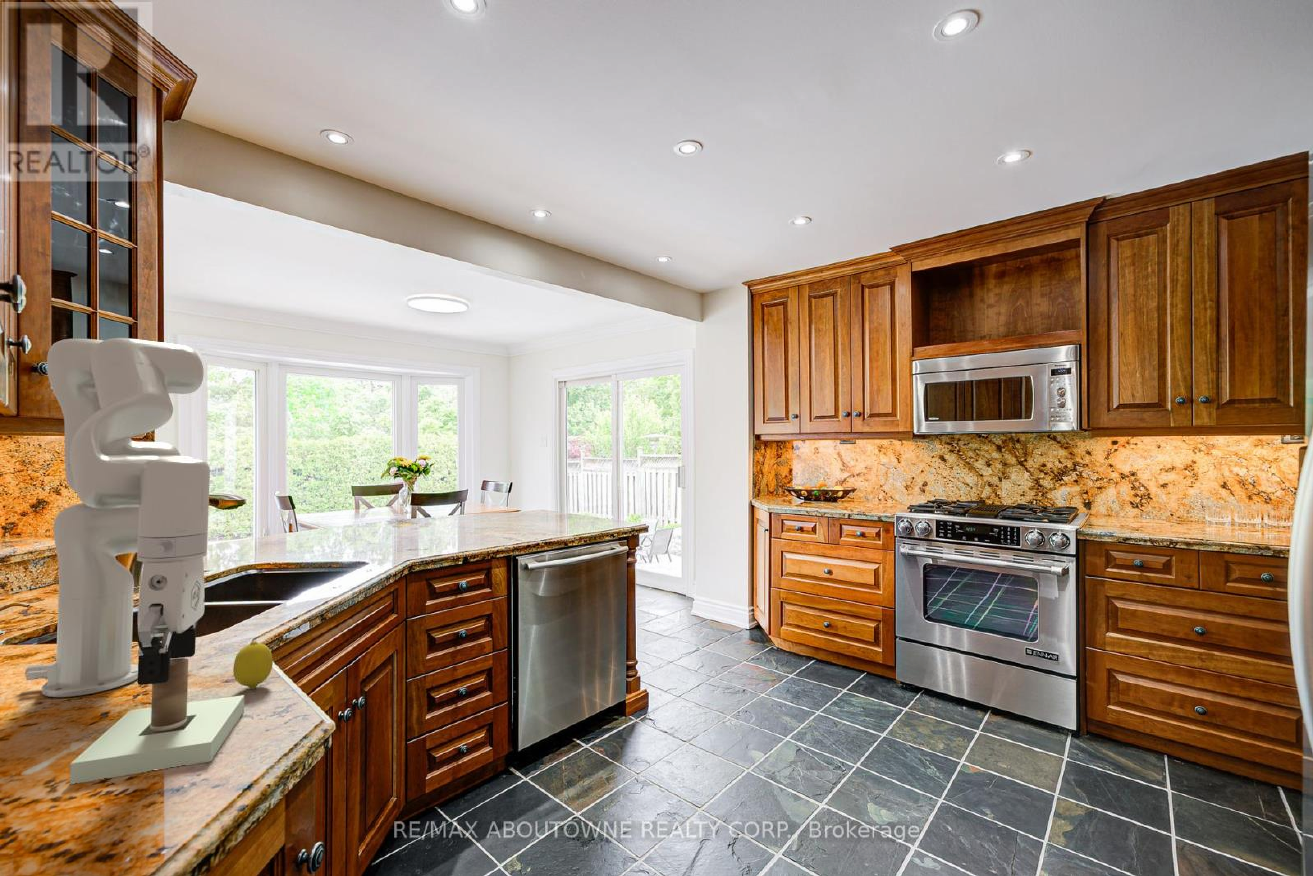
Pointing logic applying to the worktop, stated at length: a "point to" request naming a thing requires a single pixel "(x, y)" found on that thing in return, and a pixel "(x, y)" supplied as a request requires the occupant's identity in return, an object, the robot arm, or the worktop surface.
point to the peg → (170, 699)
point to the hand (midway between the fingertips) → (168, 669)
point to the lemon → (253, 664)
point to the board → (158, 741)
